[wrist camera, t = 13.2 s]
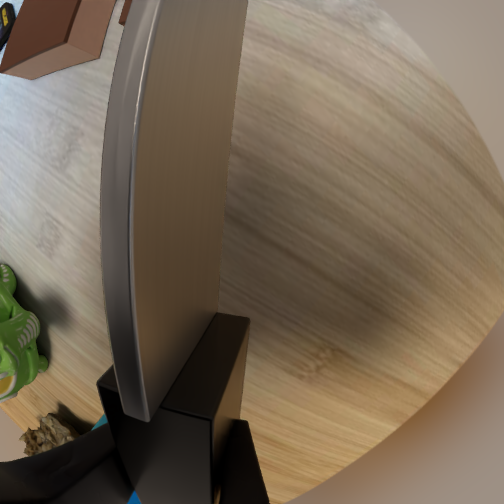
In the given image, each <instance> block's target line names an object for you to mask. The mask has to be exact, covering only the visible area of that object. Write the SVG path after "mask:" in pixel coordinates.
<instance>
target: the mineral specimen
mask: <svg viewBox="0 0 504 504" xmlns="http://www.w3.org/2000/svg"><path fill="white" fill-rule="evenodd" d="M42 421H43V422H42V423H41V424H40V428H39V427H38V430H31V429H30V428H28V430H27V432H26V433H25V434H23V435H22V436H21V438H20V439H19V440H20V441H25V443H26V448H25V450H24V453H26V454H27V455H28V456H31V455H35V454H38V453H41V452H44V451H47V450H50V449H53V448H55V447H57V446H60V445H62V444H64V443H66V442H69V441H71V440H72V441H73V439H75V438H77V437H79V436H80V434H78V433H77V432H76V431H75V429H74V428H73V427H72V426H71V425H70V424H68V423H67V422H65V421H64V420H62V419H59V418H58V417H57V416H56V415H54V414H51V413H48V415H47V417H42Z"/></svg>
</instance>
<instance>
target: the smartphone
mask: <svg viewBox="0 0 504 504" xmlns="http://www.w3.org/2000/svg"><path fill="white" fill-rule="evenodd" d="M15 20H16V19H15V15H14V11H13V7H12V4H10V3H7V2H6V3H4V4H3V5H2V6H1V8H0V48H1V46H2V45H3V44H4V42H5V41H6V39H7V38H8V37H9V35H10V34H11V31H12V28H13V25H14V23H15Z"/></svg>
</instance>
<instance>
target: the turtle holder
mask: <svg viewBox="0 0 504 504" xmlns="http://www.w3.org/2000/svg"><path fill="white" fill-rule="evenodd" d="M0 277H1V279H0V403H2V402H4V401H6V400H8V399H11V398H13V397H16V396H17V394H18V393H17V392H18V391H19V390H20V389H21V388H22V387H23V386H24V385H28V384H30V383H31V382H33V381H34V379H35V378H36V376H37V374H38V372H39V373H43V372H45V371H46V370H47V368H48V361H47V359H46V357H45V356H43V355H38V351H37V346H36V341H35V340H36V338H37V337H38V335H39V333H40V323H39V320H38V318H37V317H36V316H35V315H34V314H33V313H32V312H29V311H25V310H24V309H23V308H22V307H21V306H20V305H19V304H18V303H17V302H16V300H15V299H14V298H13V296H12V295H13V293H14V291H15V289H16V285H17V282H16V278H15V276H14V274H13V272H12V270H11V269H10V268H9V267H8V266H7V265H4V264H2V265H1V266H0Z"/></svg>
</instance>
